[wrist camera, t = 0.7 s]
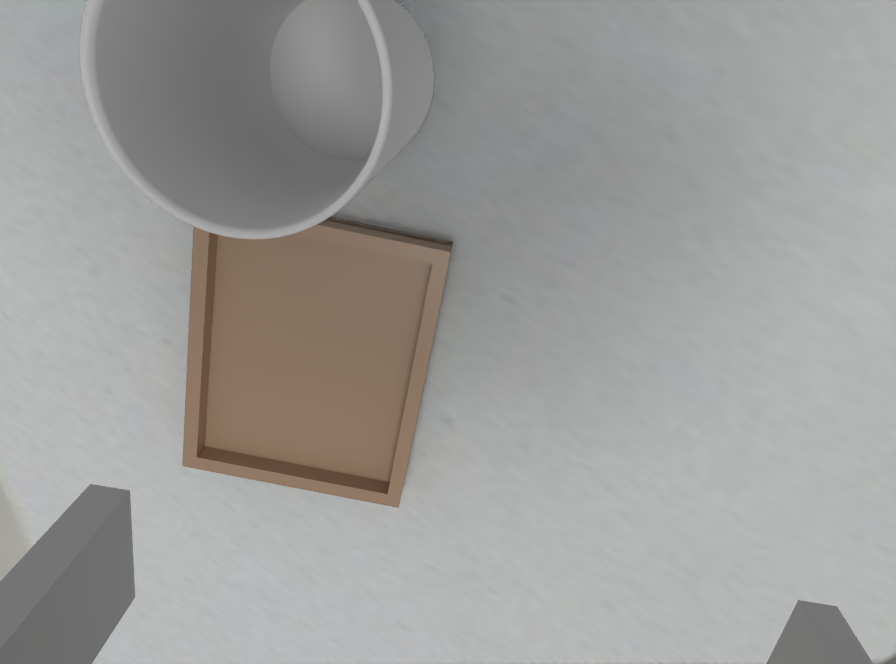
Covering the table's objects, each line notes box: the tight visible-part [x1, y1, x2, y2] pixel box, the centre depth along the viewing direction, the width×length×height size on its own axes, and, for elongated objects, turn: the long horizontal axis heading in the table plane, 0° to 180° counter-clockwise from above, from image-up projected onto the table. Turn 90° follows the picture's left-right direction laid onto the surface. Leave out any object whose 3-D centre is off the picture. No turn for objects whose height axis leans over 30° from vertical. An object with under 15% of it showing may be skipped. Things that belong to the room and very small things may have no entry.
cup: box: [80, 0, 434, 239], centre depth 24 cm, size 8×8×16 cm
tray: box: [183, 217, 453, 508], centre depth 36 cm, size 16×13×2 cm
